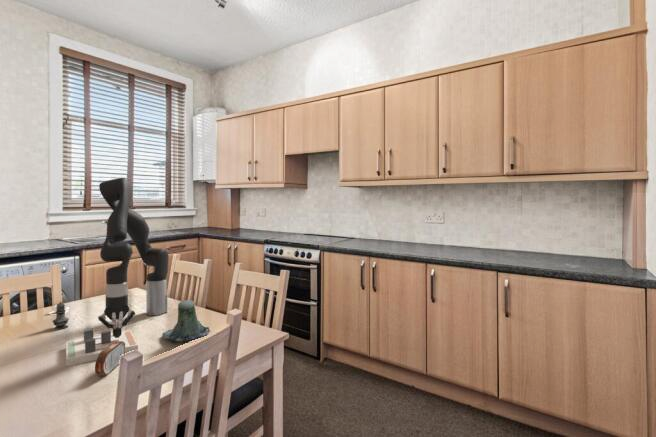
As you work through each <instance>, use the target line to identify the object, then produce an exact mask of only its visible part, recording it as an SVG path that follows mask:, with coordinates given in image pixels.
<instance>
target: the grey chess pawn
mask: <svg viewBox="0 0 656 437" xmlns="http://www.w3.org/2000/svg"><path fill="white" fill-rule="evenodd" d="M56 305H57V311H56V313H55V314H56V315H55V316H56V317H55V319H52V323H53V325H54V326H55V327H53V328H52V330H55V331H60V330H65V329H67V328H69V326H68V325H67V324H68V322H69V320H70V318H69V317H67V316H66V313H65V307H66V305H65V303H64V302H62V301H60V302H59V303H57V304H56Z"/></svg>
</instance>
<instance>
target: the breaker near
mask: <svg viewBox="0 0 656 437" xmlns="http://www.w3.org/2000/svg"><path fill="white" fill-rule="evenodd" d="M93 351H95V338H93V339H88V340H85V353H88V352H93Z"/></svg>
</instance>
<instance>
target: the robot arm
mask: <svg viewBox="0 0 656 437" xmlns="http://www.w3.org/2000/svg"><path fill="white" fill-rule="evenodd" d="M98 188H99V192H100V195H101V196H102V198H103V200H104V201H105V202H106V204H107V205H108V206H109V207H110V208H111V211H112V212H111V213H110V215H109V217H108V219H107V221H106V235H105V239H104V242H103V244H102V246H101V249H100V253H99V254H100V259H101V260H102V261H104V262H107V263H110V262H113V263H114V262H121V263H119V265H117V266H112V267H110V268H109V267H108V268H107V269H106V273H105V281H106V282H105V283H106V284H105V293H104V294H105V308H104V311H103V313H102V314H100V315H99V316H98V317H97V319H98V321H100V322H101V323H102V325H104V327H106V328H107V329H111V330H112V334H113V336H114V337H115V338H119V337H120V336H121V334H122V332H123V331H122V328H123V327H126V326H127V325H128V324H129V322H130V321H131V320H132V319H133V317H134V316H135V315H136V312H135V311H134V310H132V309H130V306H129V286H128V269H129V264H130V261H131V258H132V256H133V247H132V245H131V244H130V243H127V242H123V241H126V239H127V237H128V236H129V237H130V239H131V241H132V243H133V244H134V246H135V247H136V249H137V252H138V255H139V256H140V258H141V261H142V262H143V264H144V265H146V266H149V267H155V268H154V271H152V272H150V273H148V274H146V284H145V285H146V290H145V293H146V301H145V302H146V306H145V307H146V309H145V310H146V311H145V313H147V314H146V315H148V316H159V315H158V314H160V315H163V314H165V313H164V312H167V313H168V293H167V278H168V272H169V258H170V257H169V256H170V255H169V252H168V251H167V249H166V248H157V247H155V248H153V247H152V245H151V244H150V242H149V235H150V227H149V225H148V223H147V221H146V220H145V218H144V217H143V216H142V214H140V213H138V212H137V211H135V210H133V209H131V208H130V207H131V201H132V197H133V188H132V185H131V182H130V180H128V178H126V177H119V178H114V179H108V180H105V181H102V182H100V183H99V187H98ZM162 313H163V314H162ZM126 315H127V316H126ZM106 317H107V318H108V319H109V320H110V321H111V323H110V322H109V321H107V318H106ZM124 318H125V319H124ZM123 319H124V320H123Z"/></svg>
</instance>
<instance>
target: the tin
mask: <svg viewBox="0 0 656 437" xmlns="http://www.w3.org/2000/svg"><path fill="white" fill-rule="evenodd" d="M122 354H124V355H126V354H125V343H124V342H123V341H114V342H113V343H111V344H110V345H109V346H107V347H106V348H104V349H103V350H102V351H101V352H100V354H99V355H98V357H97V360H95V363H94V364H95V365H94V373H95V376H107V375H109V374H110V373H112V371H114V370H115V369H116V368H117V367H118V366H119V365H120V364H119V360H120V356H121V355H122Z"/></svg>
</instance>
